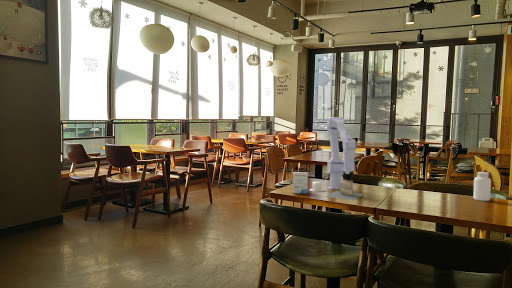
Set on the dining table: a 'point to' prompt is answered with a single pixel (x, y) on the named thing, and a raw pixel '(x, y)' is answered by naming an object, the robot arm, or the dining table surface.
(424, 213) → the dining table surface
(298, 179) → the ink box
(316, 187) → the espresso cup
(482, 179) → the pill bottle
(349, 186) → the beech block
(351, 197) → the mat
